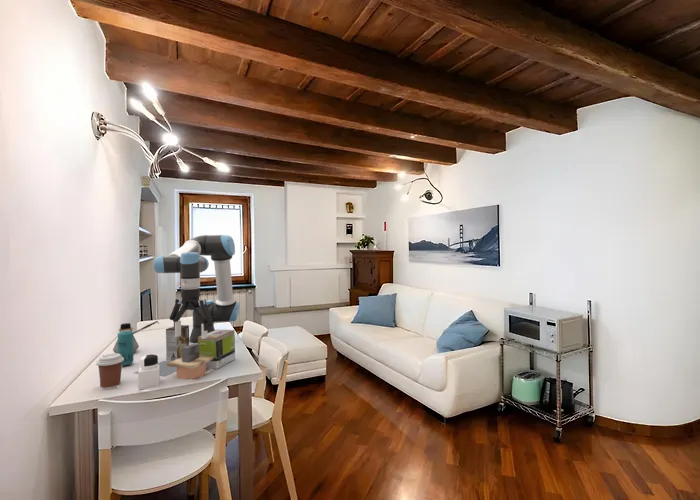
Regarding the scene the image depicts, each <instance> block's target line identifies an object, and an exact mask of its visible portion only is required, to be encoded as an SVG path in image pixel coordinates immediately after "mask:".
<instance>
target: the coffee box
mask: <svg viewBox="0 0 700 500" xmlns="http://www.w3.org/2000/svg"><path fill="white" fill-rule="evenodd" d="M165 344H166V347H165V348H166V351H165V352H166V355H165V356H166V360H165V361H170V362H171V361H174V360H176V359H179V358H181V357H182V348H183V347H185V346H188V345H190V325H188V324H187V325H184V324H183V325H182V324H181V336H178V337H175V329H174V326H172V327H171V326H170V327H168V328H166V329H165Z"/></svg>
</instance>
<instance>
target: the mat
mask: <svg viewBox="0 0 700 500" xmlns="http://www.w3.org/2000/svg"><path fill="white" fill-rule="evenodd" d="M169 362H171V361H166V360H162V361H160V362H158V364H159V365H160V377H165V378H166V377H168V376H170V375H172V374H174V373H177V367H170V366H167V363H169ZM138 371H139V370H138ZM138 371H135V372H133V374H137V375H138Z"/></svg>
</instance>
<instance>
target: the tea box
mask: <svg viewBox="0 0 700 500" xmlns="http://www.w3.org/2000/svg"><path fill="white" fill-rule="evenodd" d="M235 338H236V337H235V329H215V331H212V332H209V333H207V338H205V339H202V335H201V336H199V337H198V343H197V344H199V355H204V356H214V359H212V360H210V361H208V362H206V368H208V369H209V368H210V369H211V368H212V370H217V369H220V368H221V367H223V366H224V365H227V364H229V363H230V362H232V361H235V360H236V339H235Z"/></svg>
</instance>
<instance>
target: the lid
mask: <svg viewBox="0 0 700 500" xmlns="http://www.w3.org/2000/svg"><path fill="white" fill-rule="evenodd" d="M212 359H214V356H204V355H199V344H198V343H193V342H192V343H191V344H189V345H188V346H185V347H183V348H182V357H181V358H179V359H176V360H174V361H170V362H169V363H167V366H170V367H181V368H191V369H194V368H196V367H198V366H200V365H202V364H204V363H206V362H208V361H210V360H212Z"/></svg>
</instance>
